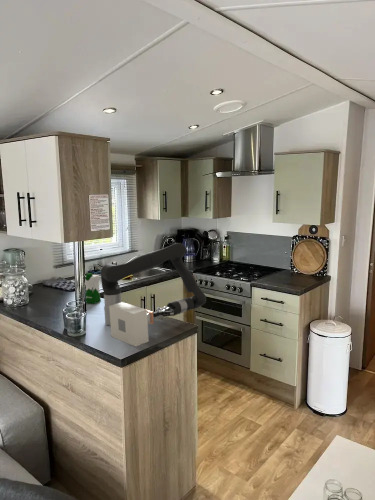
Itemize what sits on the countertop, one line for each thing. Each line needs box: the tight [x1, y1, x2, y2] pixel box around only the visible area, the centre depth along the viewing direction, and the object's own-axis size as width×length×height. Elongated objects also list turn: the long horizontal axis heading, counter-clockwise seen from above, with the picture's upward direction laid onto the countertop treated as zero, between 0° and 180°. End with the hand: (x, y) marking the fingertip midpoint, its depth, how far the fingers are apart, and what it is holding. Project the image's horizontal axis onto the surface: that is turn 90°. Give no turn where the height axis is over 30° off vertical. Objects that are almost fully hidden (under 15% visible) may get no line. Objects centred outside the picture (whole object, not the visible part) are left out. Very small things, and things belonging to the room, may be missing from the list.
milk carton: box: [84, 272, 101, 305], centre depth 253 cm, size 9×9×20 cm
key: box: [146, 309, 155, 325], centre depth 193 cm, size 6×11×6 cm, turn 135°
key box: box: [109, 301, 150, 347], centre depth 188 cm, size 20×8×16 cm, turn 45°
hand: (153, 315), depth 199 cm, fingers closed
